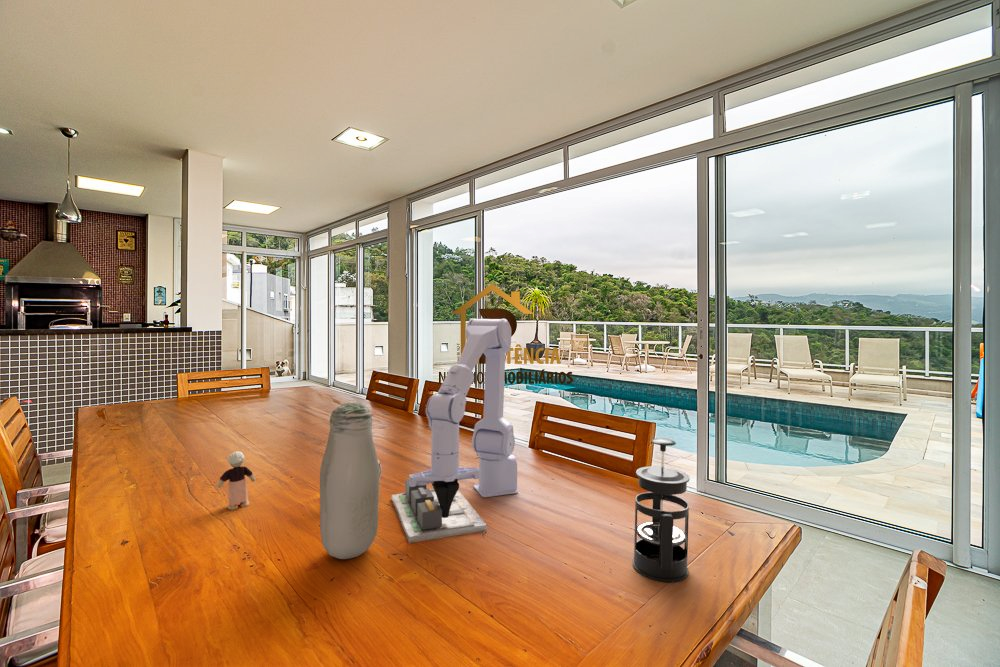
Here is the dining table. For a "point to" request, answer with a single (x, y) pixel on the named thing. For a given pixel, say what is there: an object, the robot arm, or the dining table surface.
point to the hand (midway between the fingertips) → (444, 515)
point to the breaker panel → (456, 523)
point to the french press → (661, 522)
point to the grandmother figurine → (236, 481)
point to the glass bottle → (349, 483)
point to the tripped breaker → (429, 514)
